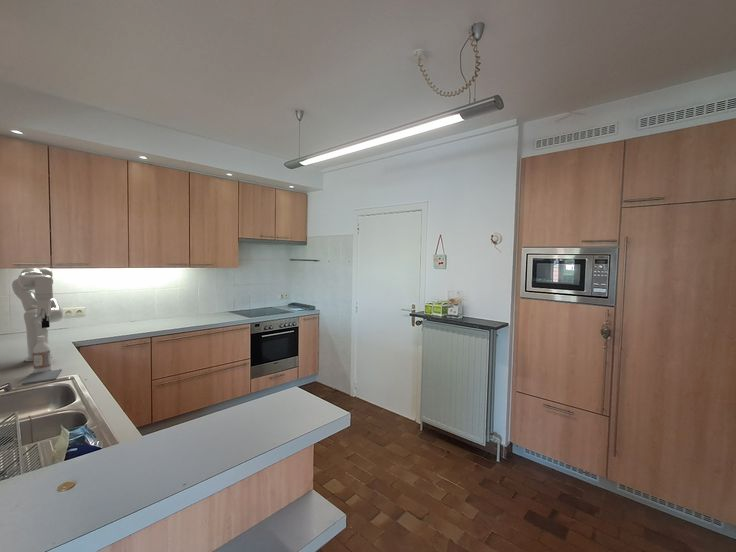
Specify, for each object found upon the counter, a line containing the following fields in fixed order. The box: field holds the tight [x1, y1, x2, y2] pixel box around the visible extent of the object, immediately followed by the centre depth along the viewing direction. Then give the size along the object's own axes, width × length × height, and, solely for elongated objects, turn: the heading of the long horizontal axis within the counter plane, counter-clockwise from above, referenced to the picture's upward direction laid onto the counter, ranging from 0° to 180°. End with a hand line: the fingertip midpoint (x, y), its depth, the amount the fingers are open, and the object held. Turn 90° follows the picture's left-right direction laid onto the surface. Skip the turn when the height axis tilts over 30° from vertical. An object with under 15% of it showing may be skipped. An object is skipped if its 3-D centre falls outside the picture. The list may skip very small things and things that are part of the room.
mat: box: [21, 368, 62, 386], centre depth 179 cm, size 17×13×1 cm
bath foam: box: [32, 336, 52, 373], centre depth 188 cm, size 7×7×20 cm
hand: (45, 327), depth 197 cm, fingers closed
